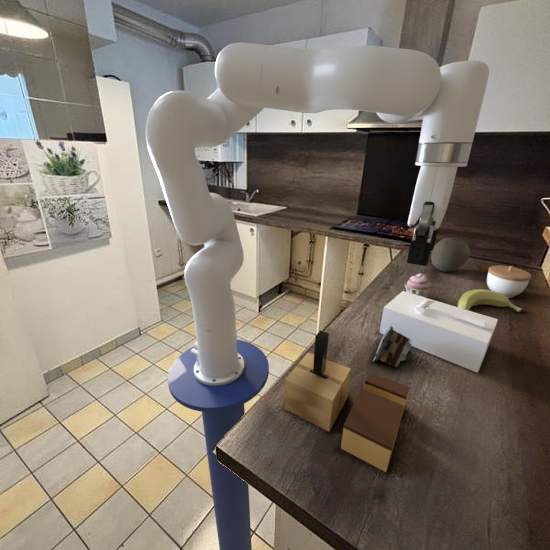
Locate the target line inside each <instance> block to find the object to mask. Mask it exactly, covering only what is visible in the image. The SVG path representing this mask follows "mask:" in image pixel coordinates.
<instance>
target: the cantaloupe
mask: <svg viewBox="0 0 550 550" xmlns="http://www.w3.org/2000/svg"><path fill="white" fill-rule="evenodd" d="M470 256H471V249H470V247H469V244H467V243H466V242H465V241H464V240H463V239H460V238H457V237H453V236H452V237H445V238H442V239H440V240H439V241H438V242H437V243H435V245H434V249H433V250H432V251H431V253H430V259H431V263H432V266H433V267H435V268H436V269H437V270H439V271H440V272H443V273H445V272H446V273H449V272H454V271H457V270H458V269H460V268H462V267H463V266H464V265H465V264H467V261H469V258H470Z"/></svg>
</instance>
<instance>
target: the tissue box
mask: <svg viewBox="0 0 550 550" xmlns="http://www.w3.org/2000/svg"><path fill="white" fill-rule="evenodd" d="M498 320H499V319H498V318H495V317H492V316H488V315H486V314H485V315H484V314H482V313H478V312H475V311H472V310H469V311H468V310H465V309H462V308H458V306H455V305H451V304H448V303H444V302H442V301H438V300H435V299H431V298H428V297H427V298H425V297H421V296H418V295H415V294H411V293H408V292H406V290H405V291H404V290H402V291H401V292H400V293H399V294H397V295H396V296H394V298H393V299H391V300H390V301H389V302H388V303H387V304H386V305H384V306H383V309H382V315H381V321H380V326H379V334H381V335H384V334H385V333H386V331H387V330H388V328H389V327H390V326H391V324H392V327H393V330H394V331H396V332H398V333H400V334H402V335H404V336H405V337H407V338H409V339H410V340H411V341H410V344H411V345H412V346H411V347H413V348H416V349H418V350H421V351H423V352H426V353H428V354H431V355H433V356H436V357H438V358H440V359H443V360H445V361H448V362H450V363H452V364H455V365H457V366H460V367H462V368H465V369H466V370H470V371H472V372H474V373H476V374H477V373H479V371H480V368H481V367H482V364H483V361H484V359H485V356H486V354H487V352H488V349H489V346H490V343H491V340H492V339H493V338H492V337H493V336H494V332H495V330H496V326H497V324H498Z"/></svg>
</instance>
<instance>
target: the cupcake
mask: <svg viewBox="0 0 550 550" xmlns="http://www.w3.org/2000/svg"><path fill="white" fill-rule="evenodd" d="M431 284H432V283H431V281H430V280H429V278H428V276H426V274H424V273H422V272H420V273H417V274H416V275H412V276H410V277H409V279H408V280H407V281H406V283H404V284H403V285H404V287H405V292H408V293H411V294H415V295H418V296H421V297H425V298H428V297H429V294H430V293H431V292H432V291H433V290H434V287H432V285H431Z"/></svg>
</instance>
